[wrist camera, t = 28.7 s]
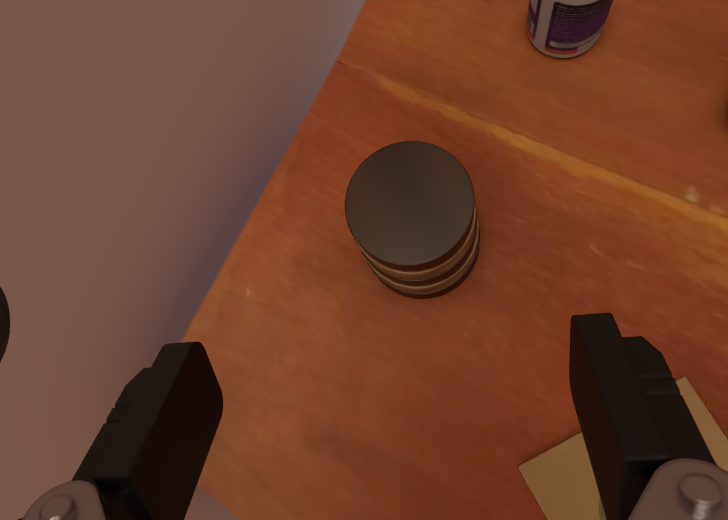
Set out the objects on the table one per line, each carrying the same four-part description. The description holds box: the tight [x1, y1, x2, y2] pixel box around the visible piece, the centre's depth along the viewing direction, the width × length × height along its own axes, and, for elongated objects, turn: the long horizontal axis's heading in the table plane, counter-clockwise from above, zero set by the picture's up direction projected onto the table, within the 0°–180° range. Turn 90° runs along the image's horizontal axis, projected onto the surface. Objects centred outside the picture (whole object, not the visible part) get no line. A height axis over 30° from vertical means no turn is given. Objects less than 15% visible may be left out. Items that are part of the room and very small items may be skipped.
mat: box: [517, 377, 728, 520], centre depth 37 cm, size 12×12×1 cm
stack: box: [345, 141, 480, 299], centre depth 38 cm, size 8×8×10 cm
